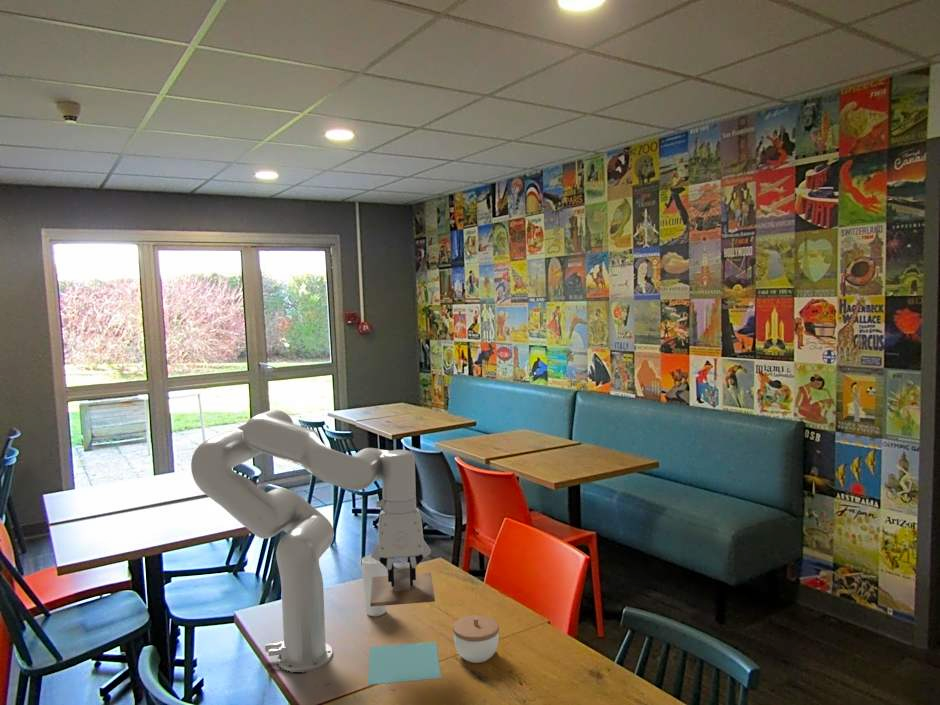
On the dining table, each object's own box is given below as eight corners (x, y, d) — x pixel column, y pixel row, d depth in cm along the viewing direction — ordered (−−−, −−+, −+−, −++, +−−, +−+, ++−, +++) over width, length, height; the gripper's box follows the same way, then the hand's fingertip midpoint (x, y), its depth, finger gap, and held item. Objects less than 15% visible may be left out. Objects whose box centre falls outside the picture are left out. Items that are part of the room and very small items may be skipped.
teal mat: (367, 686, 141) (367, 684, 141) (370, 649, 157) (370, 647, 157) (441, 680, 143) (440, 678, 143) (436, 643, 159) (436, 641, 159)
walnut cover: (370, 606, 141) (369, 580, 141) (372, 580, 155) (371, 556, 154) (434, 601, 143) (434, 575, 142) (431, 576, 156) (430, 552, 156)
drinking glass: (372, 621, 171) (370, 565, 170) (358, 612, 176) (356, 558, 175) (393, 612, 175) (391, 558, 174) (379, 604, 181) (377, 552, 180)
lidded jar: (473, 641, 159) (472, 604, 159) (508, 655, 153) (507, 616, 152) (444, 660, 151) (443, 621, 150) (480, 675, 144) (479, 634, 144)
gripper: (361, 512, 143) (364, 593, 144) (437, 507, 145) (439, 588, 146) (363, 502, 150) (366, 579, 151) (434, 498, 152) (437, 574, 153)
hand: (402, 582), depth 149 cm, fingers closed on walnut cover, 3 cm apart
